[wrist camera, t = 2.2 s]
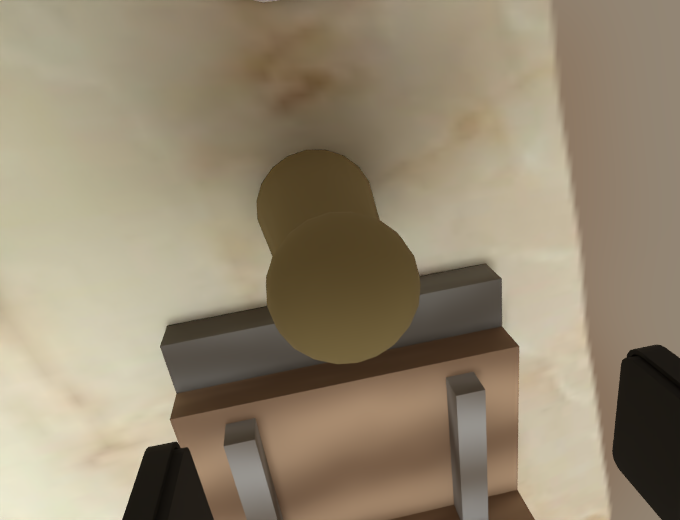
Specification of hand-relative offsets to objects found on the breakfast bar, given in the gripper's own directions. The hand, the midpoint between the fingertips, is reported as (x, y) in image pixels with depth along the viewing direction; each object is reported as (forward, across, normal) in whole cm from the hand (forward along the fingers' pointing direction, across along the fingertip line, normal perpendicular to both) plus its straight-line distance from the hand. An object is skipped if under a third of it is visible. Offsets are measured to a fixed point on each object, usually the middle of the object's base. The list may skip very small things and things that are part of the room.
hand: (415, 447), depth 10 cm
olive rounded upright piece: (+16, +1, -1) cm, 16 cm away
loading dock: (+16, +1, +12) cm, 20 cm away
